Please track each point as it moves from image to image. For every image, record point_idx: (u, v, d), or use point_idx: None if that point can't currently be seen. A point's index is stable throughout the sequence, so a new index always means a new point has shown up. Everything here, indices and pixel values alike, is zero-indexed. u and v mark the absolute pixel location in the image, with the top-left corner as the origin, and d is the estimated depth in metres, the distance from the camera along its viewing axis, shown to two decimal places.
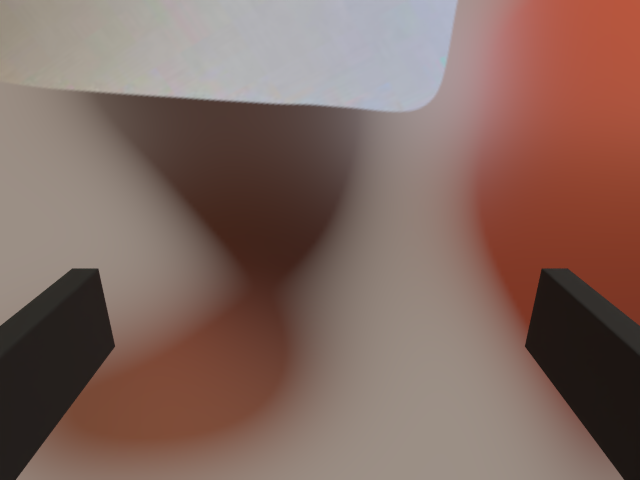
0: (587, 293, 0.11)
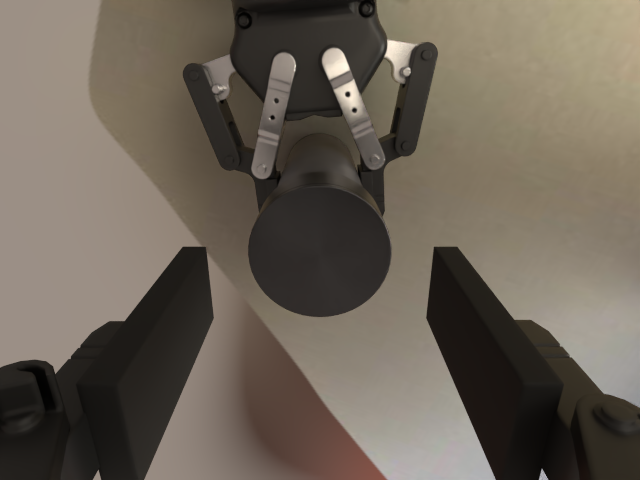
0: (462, 266, 0.12)
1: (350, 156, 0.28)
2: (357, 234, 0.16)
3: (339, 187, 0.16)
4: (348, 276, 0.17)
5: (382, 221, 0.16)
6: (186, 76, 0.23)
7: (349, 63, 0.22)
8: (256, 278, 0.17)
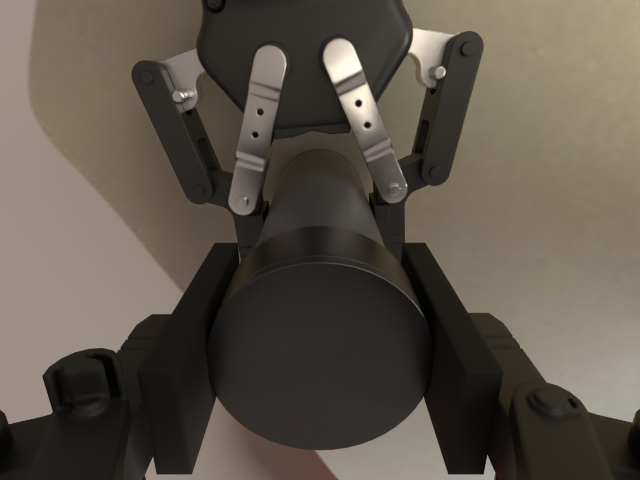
0: (426, 261, 0.13)
1: (359, 180, 0.22)
2: (380, 335, 0.10)
3: (352, 263, 0.09)
4: (365, 395, 0.11)
5: (422, 316, 0.10)
6: (136, 78, 0.16)
7: (360, 60, 0.16)
8: (220, 398, 0.11)
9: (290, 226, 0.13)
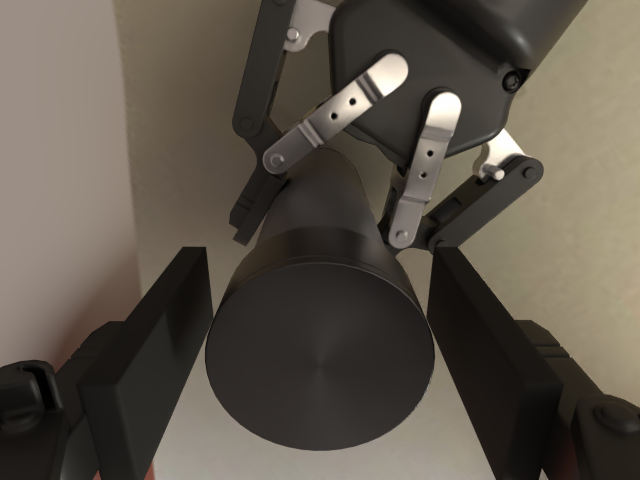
0: (462, 266, 0.12)
1: None
2: (301, 308, 0.10)
3: (218, 310, 0.10)
4: (370, 338, 0.10)
5: (291, 266, 0.09)
6: None
7: None
8: (326, 449, 0.11)
9: (341, 220, 0.13)
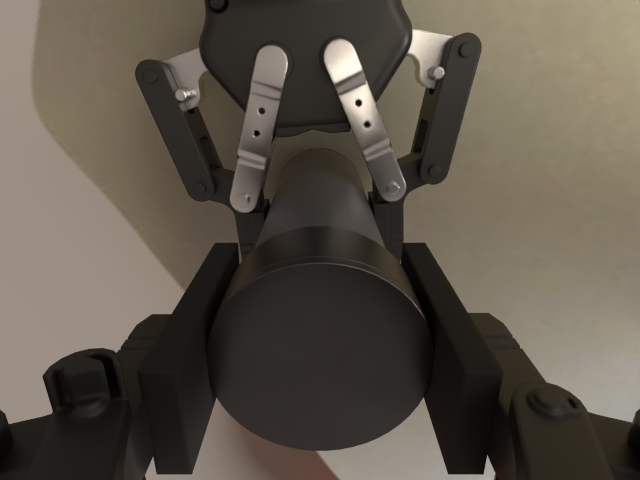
0: (426, 261, 0.13)
1: (358, 179, 0.22)
2: (264, 329, 0.10)
3: None
4: (340, 318, 0.10)
5: (227, 302, 0.10)
6: (140, 77, 0.17)
7: (361, 61, 0.16)
8: (387, 431, 0.11)
9: (291, 223, 0.13)
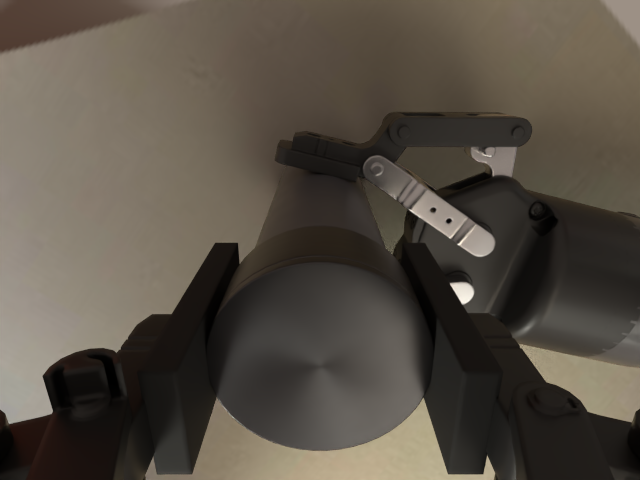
0: (426, 261, 0.13)
1: None
2: (264, 329, 0.10)
3: None
4: (341, 318, 0.10)
5: (228, 302, 0.10)
6: (521, 122, 0.18)
7: None
8: (387, 431, 0.11)
9: None
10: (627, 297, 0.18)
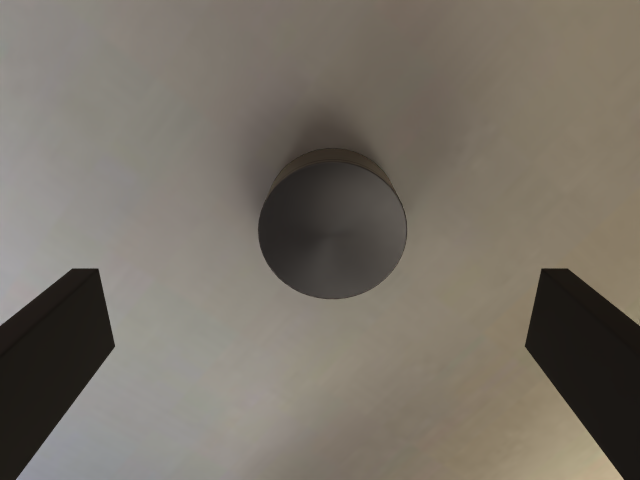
0: (587, 294, 0.11)
1: None
2: (297, 208, 0.15)
3: (259, 238, 0.16)
4: (346, 200, 0.15)
5: (274, 189, 0.15)
6: None
7: None
8: (376, 284, 0.17)
9: None
10: None
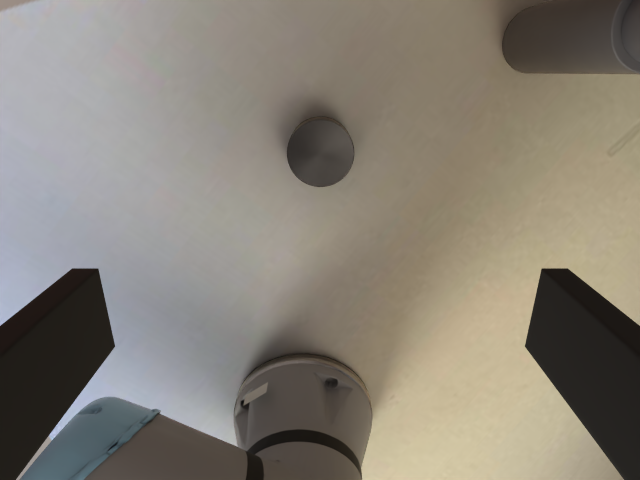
0: (587, 293, 0.11)
1: None
2: (304, 141, 0.35)
3: (287, 156, 0.35)
4: (326, 137, 0.35)
5: (294, 132, 0.34)
6: None
7: None
8: (341, 178, 0.36)
9: None
10: None
